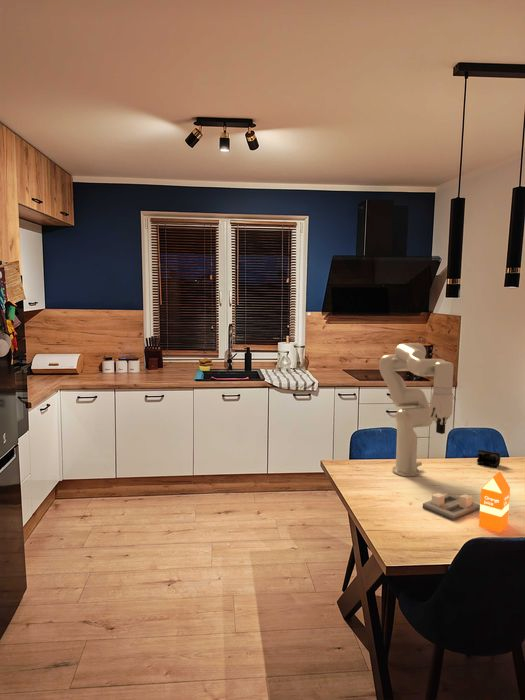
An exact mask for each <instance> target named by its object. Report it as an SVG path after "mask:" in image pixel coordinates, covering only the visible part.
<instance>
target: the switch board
mask: <svg viewBox="0 0 525 700" xmlns="http://www.w3.org/2000/svg"><path fill="white" fill-rule="evenodd" d="M444 495H445V494H444ZM459 497H460V496H457V495H456V494H451V493H448V494H446V495H445V497H444V505H441V506H436V505H433V504H432V499H431V500H428V501H426V502H423V503H422V509H424V510H426V511H429V512H430V513H434V514H436V515H438V516H441V517H443V518H446V519H448V520H450V521H452V522H453V521H457V520H460V519H462V518H464V517H466V516H468V515H472V514H473V513H475V512H478V511H480V504H479V503H477V502H473V501H472V506H469V507H467V508H465V509H464V508H461V507H459Z"/></svg>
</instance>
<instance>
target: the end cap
mask: <svg viewBox="0 0 525 700" xmlns="http://www.w3.org/2000/svg"><path fill="white" fill-rule="evenodd" d="M476 456H477V459H476V462H477V466H481V467H487V468H490V469H491V468H492V469H497V468H498V467H499V466H500V463H501V459H502V458H501V453H500V452H499V453H498V452H492V451H488V450H482V449H478V453H477V454H476Z"/></svg>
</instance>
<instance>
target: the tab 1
mask: <svg viewBox="0 0 525 700" xmlns="http://www.w3.org/2000/svg"><path fill="white" fill-rule="evenodd" d="M444 497H445V494H442V493H439V492H436V493H433V494H432V495H431V500H432V504H433V505H436V506H441V505H444Z"/></svg>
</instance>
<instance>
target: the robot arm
mask: <svg viewBox="0 0 525 700" xmlns="http://www.w3.org/2000/svg"><path fill="white" fill-rule="evenodd" d="M426 355H427V350H426V347H425V346H424V345H423V344H422V343H419V342H407V343H405V342H403V343H400V344H398V345H397V346H396V347H395V349H394V353H393V354H385V355H383V356H381V358H380V360H379V361H378V362H379V364H378V368H379V372H380V376H381V377H382V379H383V381H384V382H385V383H386V385H387V389H388V392H389V395H390V397H391V400H392V403H393V405H394V406H395V408H399V409H398V410H397V411H396V412H395V413H396V414H395V423H396V452H395V453H396V454H395V466H393V467H392V468H391V469H392V473H394V474H396V475H398V476H402V477H416V476H418V475H420V470H419V468H418V467H420V466H422V464H423V463H422V462H421V461H417V459H418V435H417V433H416V431H415V430H414V429H415V428H427V427H430V426H431V425H432V424H433V423H434V422H435V424H436V427H435V428H436V429H435V430H436V431H435V433H438V434H440V435H444V434H445V433H446V424H447V420H448V419H450V418H451V416H452V415H453V408H454V407H453V405H454V403H453V385H454V384H453V383H454V381H453V380H454V369H455V368H454V363H453V362H450V361H446V360H445V359H443V358H426ZM397 372H410V373H412V374H413V375H415V376H418V377H433V389H432V391H433V393H432V395H431V398H430V404H429V401H428V399H427V397H426V394H425V393H424V391H423V390H422V389H420V388H419V387H407V385H406V383H405V380H404V379H403V377H402V376H401V375H399V374H398V373H397Z"/></svg>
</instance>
